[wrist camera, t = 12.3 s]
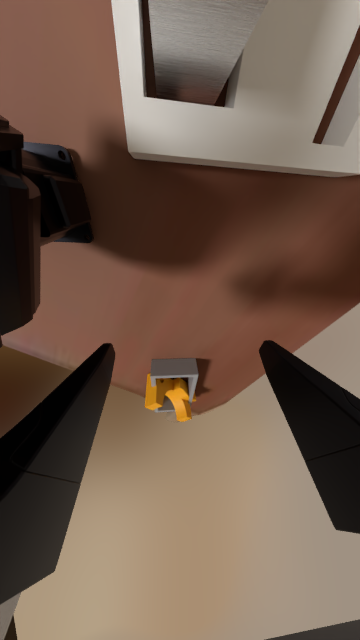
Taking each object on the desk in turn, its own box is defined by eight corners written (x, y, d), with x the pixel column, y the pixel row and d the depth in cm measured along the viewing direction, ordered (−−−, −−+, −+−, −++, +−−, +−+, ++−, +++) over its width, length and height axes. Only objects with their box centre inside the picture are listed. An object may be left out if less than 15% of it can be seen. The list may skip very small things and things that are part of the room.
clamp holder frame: (155, 397, 39) (155, 412, 37) (151, 359, 29) (150, 376, 26) (188, 395, 40) (189, 410, 38) (195, 358, 30) (198, 374, 27)
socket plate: (134, 158, 12) (128, 151, 10) (97, -224, 6) (62, -437, 4) (335, 177, 14) (363, 174, 12) (480, -103, 7) (591, -209, 5)
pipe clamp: (193, 387, 37) (198, 416, 32) (179, 392, 38) (182, 422, 34) (163, 366, 30) (164, 399, 25) (147, 374, 32) (144, 407, 27)
